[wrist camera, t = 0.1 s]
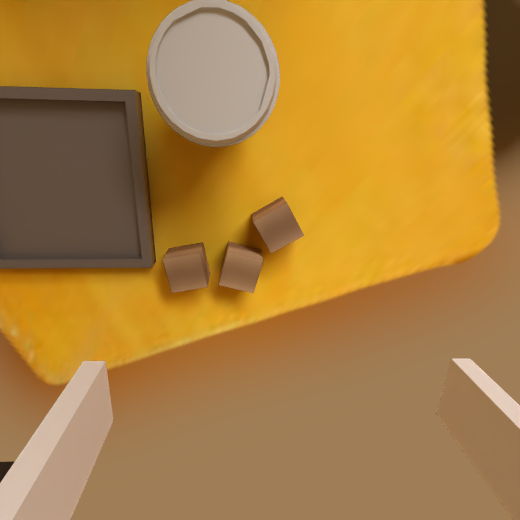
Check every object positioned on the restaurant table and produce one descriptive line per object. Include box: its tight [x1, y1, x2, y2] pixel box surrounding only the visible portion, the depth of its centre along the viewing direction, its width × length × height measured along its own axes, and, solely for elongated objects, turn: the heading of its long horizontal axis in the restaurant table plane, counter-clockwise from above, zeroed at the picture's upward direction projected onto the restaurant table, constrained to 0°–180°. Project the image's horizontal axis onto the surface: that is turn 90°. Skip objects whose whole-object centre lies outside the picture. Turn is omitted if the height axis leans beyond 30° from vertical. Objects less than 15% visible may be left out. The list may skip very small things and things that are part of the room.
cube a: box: [163, 243, 210, 293], centre depth 38 cm, size 4×4×4 cm
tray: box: [0, 86, 156, 268], centre depth 35 cm, size 18×18×2 cm
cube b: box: [219, 241, 263, 293], centre depth 39 cm, size 4×4×4 cm
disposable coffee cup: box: [147, 0, 280, 147], centre depth 29 cm, size 10×10×12 cm
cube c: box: [252, 197, 304, 253], centre depth 37 cm, size 4×4×4 cm
